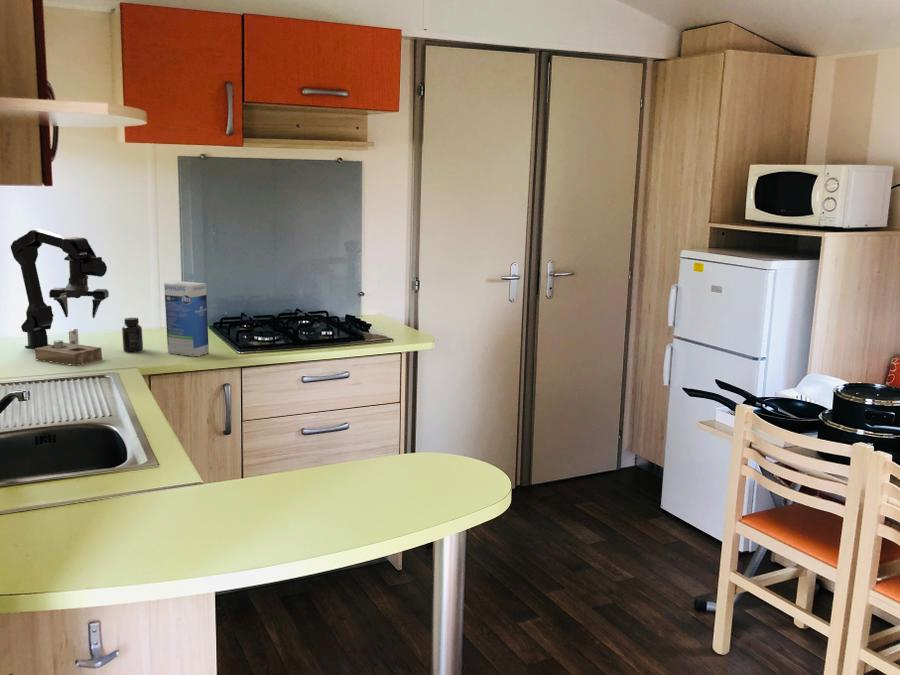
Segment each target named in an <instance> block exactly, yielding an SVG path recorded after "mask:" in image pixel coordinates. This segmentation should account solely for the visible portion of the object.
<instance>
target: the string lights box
mask: <svg viewBox="0 0 900 675" xmlns="http://www.w3.org/2000/svg"><path fill="white" fill-rule="evenodd" d="M163 286H164V287H163V289H164V304H165V306H164V307H165V322H166V323H165V324H166V338H167V340H166V341H167V354H168V353H173V354H172V355H176V354H180V355H179V356H184V355H189V356H188V357H193V356H198V357H201V356H204V355H207V353H208V354H210V348H209V345H210V344H209V326H208V325H209V324H208V305H207V304H208V301H207V283H206V282H195V281H194V282H192V281H181V280H175V281H171V282H166V283H165V282H164V283H163ZM203 354H204V355H203ZM200 355H201V356H200Z"/></svg>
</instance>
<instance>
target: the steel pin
mask: <svg viewBox="0 0 900 675" xmlns="http://www.w3.org/2000/svg"><path fill="white" fill-rule="evenodd" d="M68 338H69V339H68V343H71V344H78V345H80V343H79V329H77V328H71V329H68Z"/></svg>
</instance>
